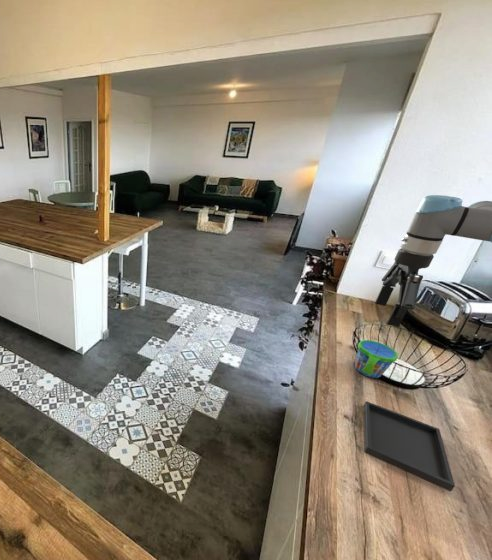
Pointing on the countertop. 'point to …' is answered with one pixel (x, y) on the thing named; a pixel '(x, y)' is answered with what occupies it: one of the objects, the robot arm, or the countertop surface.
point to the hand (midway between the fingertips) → (385, 314)
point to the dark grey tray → (406, 444)
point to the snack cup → (374, 358)
